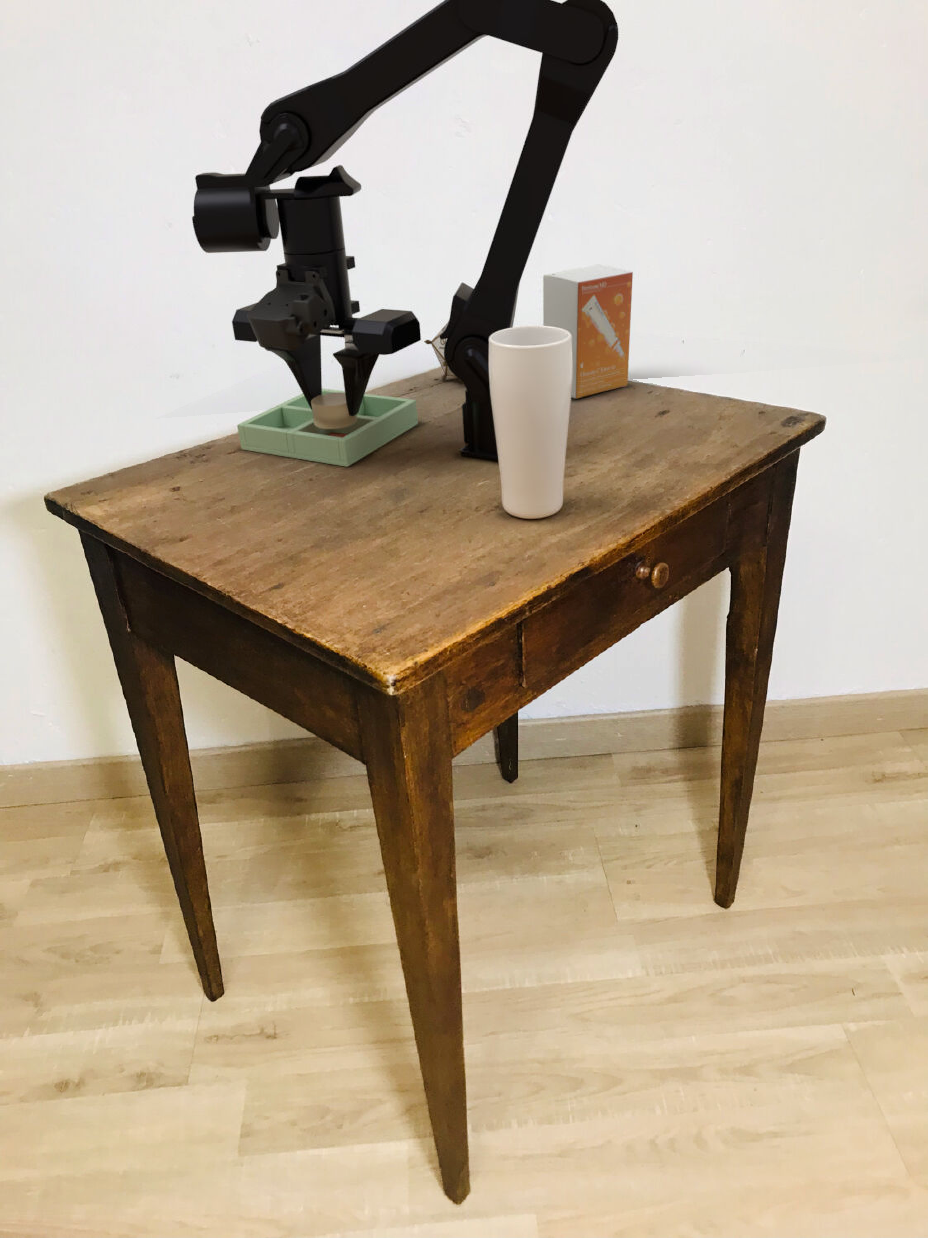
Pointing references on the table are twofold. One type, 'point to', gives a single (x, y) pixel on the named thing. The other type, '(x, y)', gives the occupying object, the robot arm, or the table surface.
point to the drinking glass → (531, 415)
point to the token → (331, 411)
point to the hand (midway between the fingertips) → (334, 412)
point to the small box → (592, 323)
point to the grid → (327, 430)
